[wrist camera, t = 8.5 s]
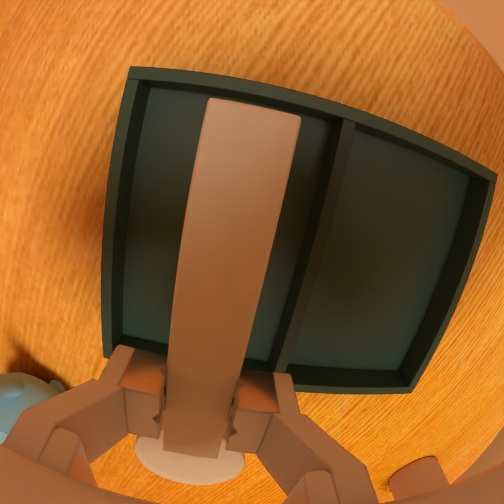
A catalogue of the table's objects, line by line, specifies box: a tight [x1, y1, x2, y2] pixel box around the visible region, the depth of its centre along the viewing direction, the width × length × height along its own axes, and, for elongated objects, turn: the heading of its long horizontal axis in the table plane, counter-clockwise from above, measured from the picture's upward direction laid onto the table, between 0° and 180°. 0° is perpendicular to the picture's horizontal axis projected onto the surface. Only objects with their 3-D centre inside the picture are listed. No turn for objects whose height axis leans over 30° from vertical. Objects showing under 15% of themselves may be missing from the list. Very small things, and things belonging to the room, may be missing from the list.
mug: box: [389, 456, 449, 500], centre depth 29 cm, size 12×8×11 cm
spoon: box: [134, 98, 301, 485], centre depth 8 cm, size 14×4×2 cm, turn 168°
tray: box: [101, 66, 498, 394], centre depth 20 cm, size 20×26×3 cm
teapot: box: [0, 371, 66, 444], centre depth 21 cm, size 13×13×10 cm
